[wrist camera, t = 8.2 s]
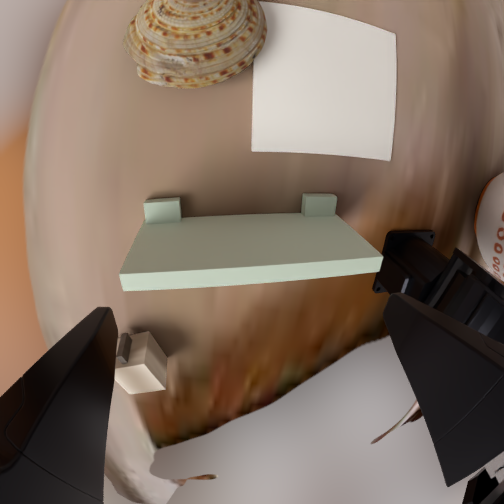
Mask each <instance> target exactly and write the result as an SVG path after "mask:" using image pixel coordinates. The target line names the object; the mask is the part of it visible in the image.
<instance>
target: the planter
mask: <svg viewBox="0 0 504 504" xmlns="http://www.w3.org/2000/svg"><path fill="white" fill-rule="evenodd" d="M474 228H475V234H476V237H477V241H478V246H479V249H480V252H481V255H482V257H483V259H484V261H485V262H486V264H487V265H488V267H489V268H490V269H491V270H492V272H493V273H494V274H495V275H497V276H498V277H499V278H500V279H501V280H502V281H504V172H503V173H501V174H499V175H498V176H497V177H494V178H492V179H491V180H490V181H489V182H488V183H487V185H486V186H485V188H484V189H483V191H482V194H481V196H480V198H479V201H478V205H477V208H476V213H475V221H474Z"/></svg>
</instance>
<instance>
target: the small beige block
mask: <svg viewBox="0 0 504 504" xmlns="http://www.w3.org/2000/svg"><path fill="white" fill-rule="evenodd" d="M166 373H167V356H166V355H165V354H164V352H163V351H162V349H161V348H160V346H159V345H158V344H157V342H156V341H155V339H154V338H153V336H152V335H151V333H150V332H149V331H147V332H142V333H138V334H134V335H128V333H123V334H122V335H121V337H120V338H118V341H117V352H116V365H115V380H116V381H117V382H118V383H119V384H120V385H121V386H122V387H123V388H124V389H125V390H126V391H127V392H128V393H129V394H136V393H144V392H151V391H158V390H164V389H166Z"/></svg>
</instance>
